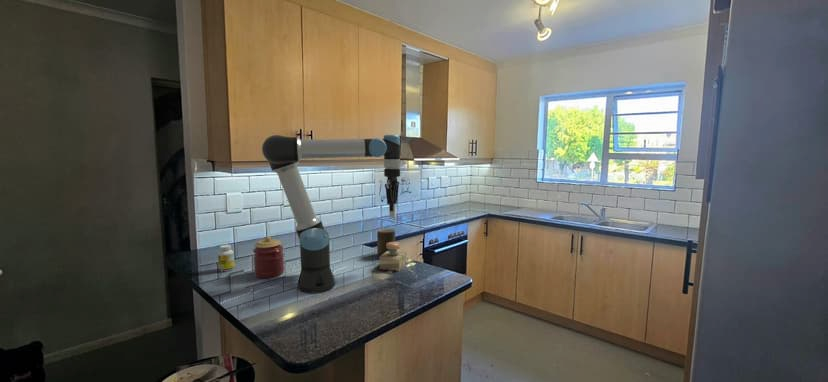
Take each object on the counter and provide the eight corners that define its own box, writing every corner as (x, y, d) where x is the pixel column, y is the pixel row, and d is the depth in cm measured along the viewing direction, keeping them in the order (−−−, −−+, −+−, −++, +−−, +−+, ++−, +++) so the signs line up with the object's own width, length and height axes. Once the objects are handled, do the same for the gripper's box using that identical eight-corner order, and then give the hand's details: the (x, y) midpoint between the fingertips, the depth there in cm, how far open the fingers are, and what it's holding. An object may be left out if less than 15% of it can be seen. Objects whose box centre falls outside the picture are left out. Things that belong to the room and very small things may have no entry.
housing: (399, 271, 163) (399, 258, 163) (379, 268, 166) (379, 256, 166) (406, 264, 173) (406, 252, 172) (387, 262, 176) (387, 250, 175)
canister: (247, 276, 157) (245, 238, 155) (268, 267, 169) (266, 231, 167) (270, 280, 152) (268, 241, 150) (290, 270, 164) (288, 234, 162)
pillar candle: (391, 258, 181) (391, 230, 180) (374, 256, 184) (374, 229, 183) (398, 253, 190) (398, 226, 189) (381, 251, 194) (381, 225, 192)
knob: (396, 261, 165) (396, 246, 164) (384, 260, 167) (384, 244, 166) (401, 257, 171) (401, 242, 170) (389, 256, 173) (389, 241, 172)
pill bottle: (217, 269, 166) (215, 246, 164) (231, 266, 170) (230, 243, 169) (222, 273, 161) (220, 248, 160) (236, 269, 166) (235, 245, 164)
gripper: (394, 169, 156) (395, 220, 159) (404, 167, 168) (404, 215, 171) (379, 168, 158) (379, 219, 161) (389, 167, 171) (390, 214, 174)
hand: (392, 217), depth 166 cm, fingers closed
